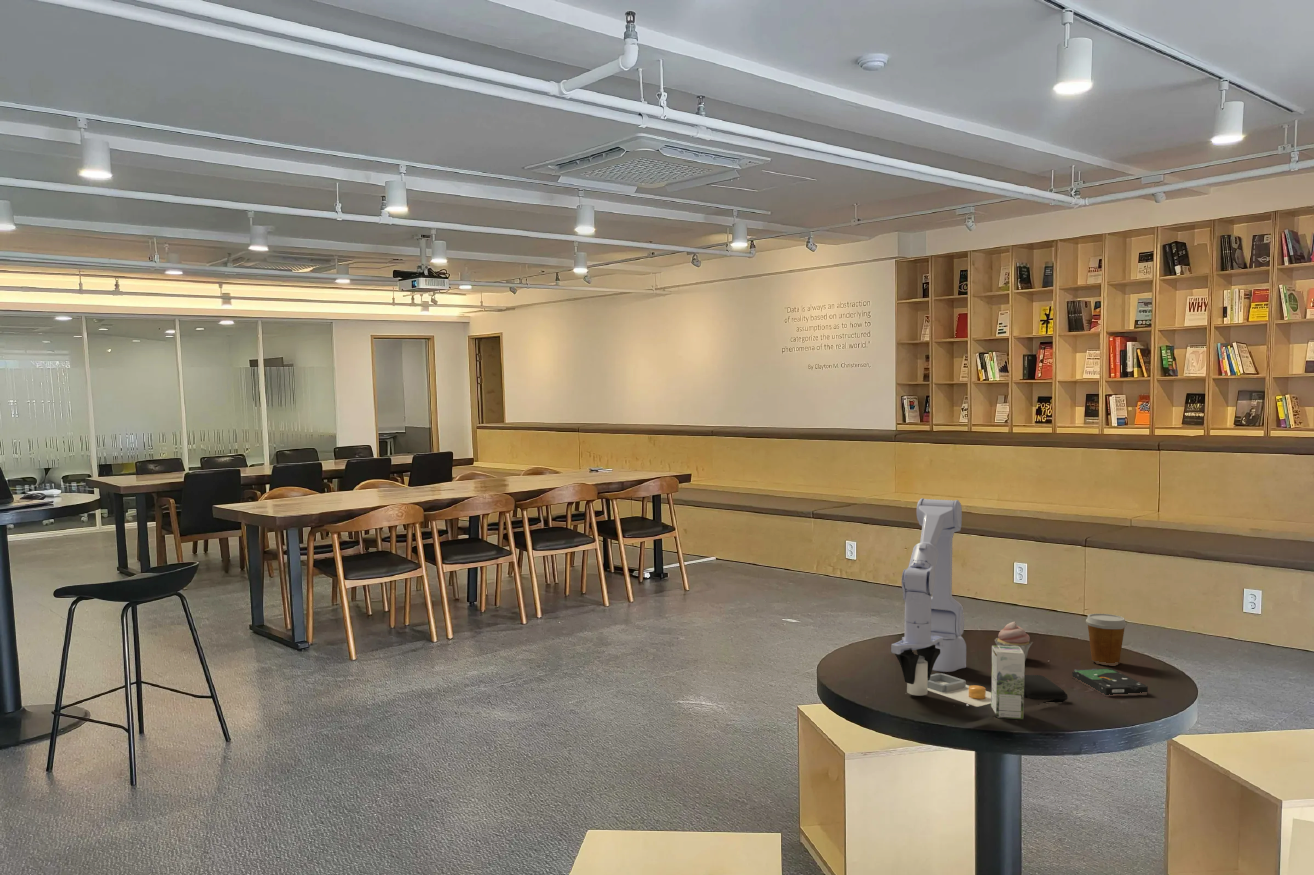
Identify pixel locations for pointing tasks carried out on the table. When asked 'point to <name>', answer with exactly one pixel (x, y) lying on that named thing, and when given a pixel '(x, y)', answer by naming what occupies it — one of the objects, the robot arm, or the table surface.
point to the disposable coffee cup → (1106, 636)
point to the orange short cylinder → (977, 692)
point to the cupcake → (1014, 637)
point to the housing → (954, 689)
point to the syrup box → (1007, 682)
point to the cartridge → (919, 678)
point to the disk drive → (1109, 681)
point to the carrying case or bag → (1042, 689)
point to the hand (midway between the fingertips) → (917, 681)
